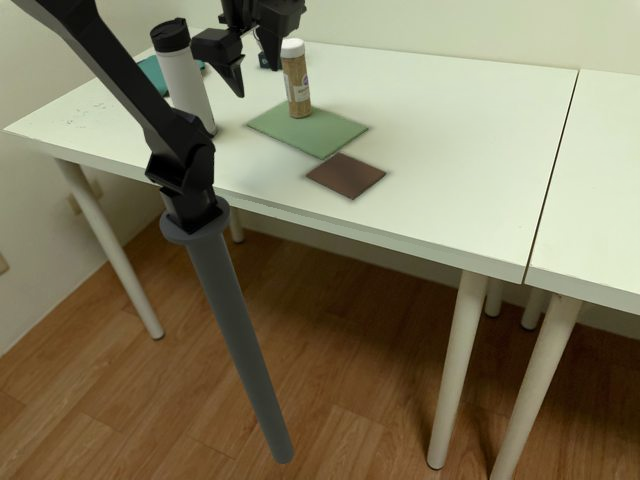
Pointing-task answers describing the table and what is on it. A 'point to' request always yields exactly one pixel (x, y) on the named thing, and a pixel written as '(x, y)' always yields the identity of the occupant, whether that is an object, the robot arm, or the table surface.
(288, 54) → the sprinkles bottle
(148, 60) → the cutlery set
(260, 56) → the watch
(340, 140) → the green mat
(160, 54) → the travel mug
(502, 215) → the table surface
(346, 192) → the walnut mat
